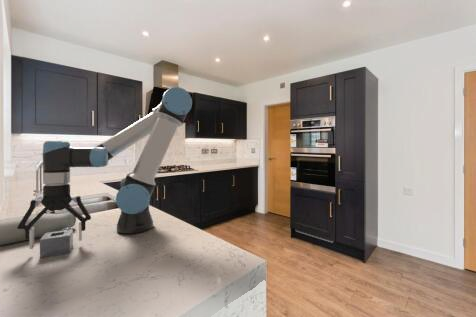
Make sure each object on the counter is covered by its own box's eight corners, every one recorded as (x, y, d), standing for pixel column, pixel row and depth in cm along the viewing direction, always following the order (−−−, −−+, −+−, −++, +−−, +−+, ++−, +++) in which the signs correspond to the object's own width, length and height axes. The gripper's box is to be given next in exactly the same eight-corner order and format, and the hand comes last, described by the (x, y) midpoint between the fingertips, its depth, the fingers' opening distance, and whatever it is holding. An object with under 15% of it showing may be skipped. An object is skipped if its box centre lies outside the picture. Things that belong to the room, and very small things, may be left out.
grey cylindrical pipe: (-15, 241, 87) (72, 224, 108) (-15, 253, 80) (78, 233, 101) (-16, 217, 86) (73, 205, 107) (-16, 227, 79) (78, 212, 100)
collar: (72, 244, 85) (72, 229, 85) (69, 252, 78) (69, 235, 78) (45, 249, 81) (45, 232, 81) (39, 257, 74) (39, 239, 74)
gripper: (97, 181, 89) (98, 233, 89) (11, 185, 76) (12, 247, 76) (98, 182, 83) (98, 239, 83) (4, 188, 70) (4, 255, 70)
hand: (57, 243), depth 80 cm, fingers open, 13 cm apart
